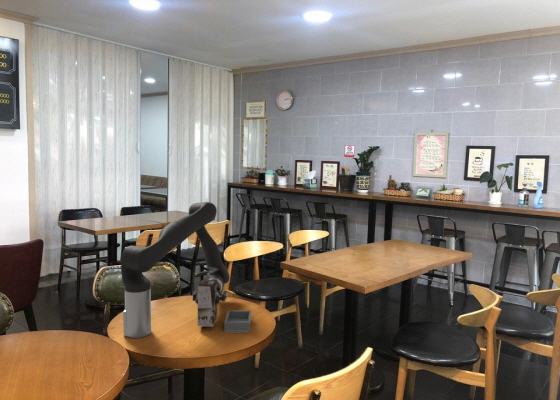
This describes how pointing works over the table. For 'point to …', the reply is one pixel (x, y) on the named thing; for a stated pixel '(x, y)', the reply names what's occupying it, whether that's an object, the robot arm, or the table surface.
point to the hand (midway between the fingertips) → (206, 302)
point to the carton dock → (237, 321)
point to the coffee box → (207, 303)
